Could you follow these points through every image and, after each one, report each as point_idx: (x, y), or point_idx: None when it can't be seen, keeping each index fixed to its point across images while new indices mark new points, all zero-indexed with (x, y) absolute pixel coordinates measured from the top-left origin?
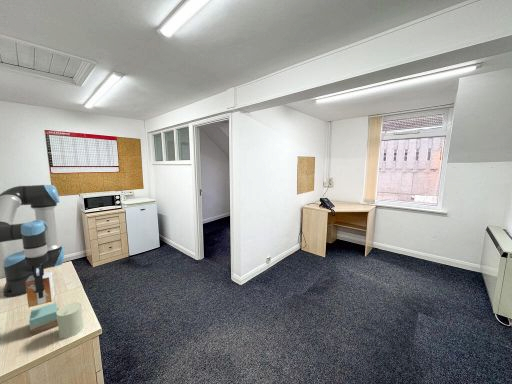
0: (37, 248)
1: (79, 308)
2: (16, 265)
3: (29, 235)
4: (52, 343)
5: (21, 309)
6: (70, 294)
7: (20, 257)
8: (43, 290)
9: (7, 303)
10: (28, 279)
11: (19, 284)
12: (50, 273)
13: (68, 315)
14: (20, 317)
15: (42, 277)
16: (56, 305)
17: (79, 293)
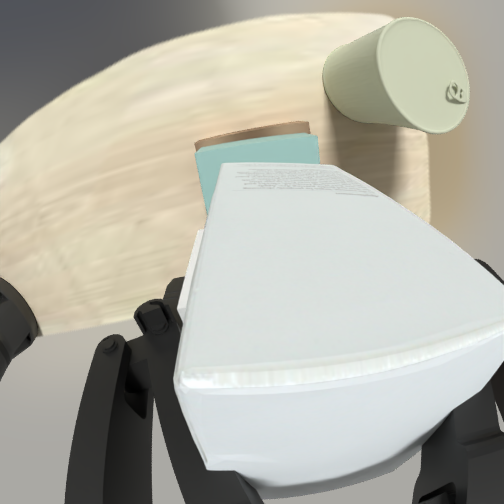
0: None
1: (447, 38)
2: None
3: None
4: (398, 140)
5: (99, 288)
6: (48, 144)
7: None
8: (483, 263)
9: (63, 327)
10: (350, 484)
11: (9, 332)
12: (366, 384)
13: (465, 88)
14: (149, 279)
15: (495, 404)
16: (229, 146)
17: (55, 106)
